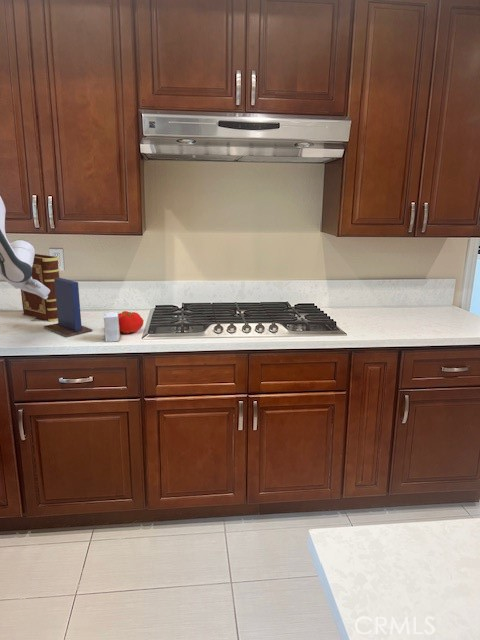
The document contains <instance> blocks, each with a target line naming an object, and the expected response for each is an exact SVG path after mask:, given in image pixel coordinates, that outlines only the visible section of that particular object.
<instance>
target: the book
mask: <svg viewBox="0 0 480 640" xmlns="http://www.w3.org/2000/svg"><path fill="white" fill-rule="evenodd" d="M54 281H55V292H56V303H57V314H58V321H57V323H58V325H61V326H64V327H66V328H69V329H72V330H74V331H78V330H82V326H83V325H82V316H81V315H82V313H81V301H80V289H79V282H78V281H76V280H75V281H74V280H71V279H66V278H63V277H60V278H56V279H54Z"/></svg>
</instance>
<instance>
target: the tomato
mask: <svg viewBox="0 0 480 640" xmlns="http://www.w3.org/2000/svg"><path fill="white" fill-rule="evenodd" d="M118 313H119V332H120V333H123V334H129V333H137V332H138V331H139V330H141V329H142V327H144V319H143V317H141V314H139V312H134V311H127V310H123V311H121V312H118Z"/></svg>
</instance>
